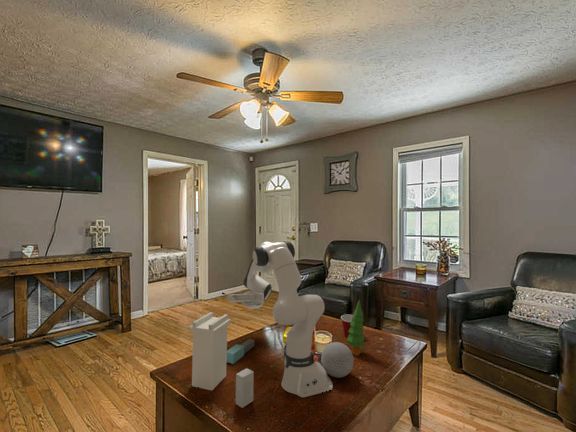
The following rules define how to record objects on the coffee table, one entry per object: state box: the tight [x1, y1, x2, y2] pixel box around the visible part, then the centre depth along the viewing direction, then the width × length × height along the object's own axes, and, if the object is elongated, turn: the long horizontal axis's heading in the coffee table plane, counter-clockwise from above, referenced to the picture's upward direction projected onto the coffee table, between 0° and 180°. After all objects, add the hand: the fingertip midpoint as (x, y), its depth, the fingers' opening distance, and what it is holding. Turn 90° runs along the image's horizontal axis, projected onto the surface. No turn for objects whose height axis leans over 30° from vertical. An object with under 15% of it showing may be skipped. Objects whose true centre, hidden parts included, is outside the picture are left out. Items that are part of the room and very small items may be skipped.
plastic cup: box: [340, 314, 354, 339], centre depth 184 cm, size 11×11×12 cm
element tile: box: [282, 326, 293, 344], centre depth 179 cm, size 15×15×5 cm
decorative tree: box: [346, 298, 365, 355], centre depth 163 cm, size 10×9×30 cm
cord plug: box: [227, 338, 255, 365], centre depth 158 cm, size 22×5×5 cm, turn 157°
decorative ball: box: [320, 341, 355, 379], centre depth 139 cm, size 15×15×15 cm
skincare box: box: [235, 367, 255, 409], centre depth 117 cm, size 6×4×12 cm
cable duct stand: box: [189, 311, 232, 391], centre depth 132 cm, size 14×12×28 cm
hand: (240, 296), depth 159 cm, fingers open, 8 cm apart
